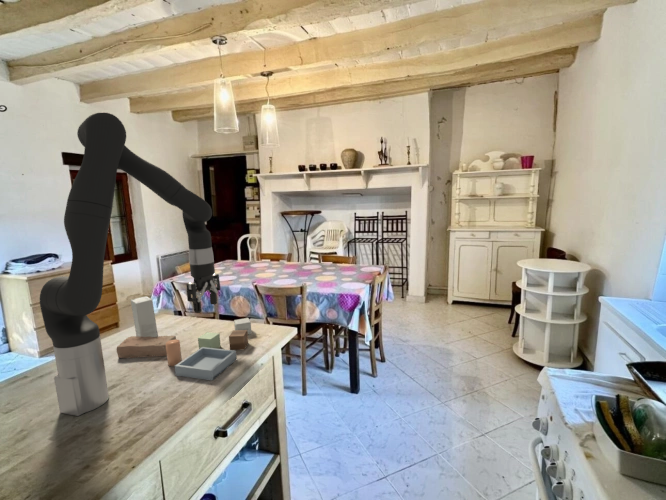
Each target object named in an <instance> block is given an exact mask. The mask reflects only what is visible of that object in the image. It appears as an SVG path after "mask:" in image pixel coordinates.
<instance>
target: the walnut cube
mask: <svg viewBox="0 0 666 500" xmlns="http://www.w3.org/2000/svg"><path fill="white" fill-rule="evenodd" d="M228 344H229V350H234V351H237V350H238V351H239V350H240V349H245V350H246V348H247V346H248V345H249V334H248V332H247V330H235V329H234V330H232V331H231V333H230V334H229V335H228ZM247 344H248V345H247ZM245 347H246V348H245Z"/></svg>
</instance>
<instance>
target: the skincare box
mask: <svg viewBox="0 0 666 500" xmlns="http://www.w3.org/2000/svg"><path fill="white" fill-rule="evenodd" d="M130 305H131V311H132V317H133V318H132V319H133V325H134V329H135V330H134V331H135V336H139V337H140V336H142V337H159V334H158V328H157V322H156V321H157V320H156V315H155V308H154V301H153V299H152V298H150V297H148V295H147V296H141V297H136V298H133V299H132V298H131V299H130Z"/></svg>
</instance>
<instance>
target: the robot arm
mask: <svg viewBox="0 0 666 500" xmlns="http://www.w3.org/2000/svg"><path fill="white" fill-rule="evenodd" d="M77 138H78V141H79V142H80V144H81V145H82V146H83V147H84V152H83V156H82V157H83V158H82V161H81V162H82V163H81V165H80V168H79V170H78V172H77V174H76V176H75V178H74V180H73V183H72V186H71V188H70V190H69V194H68V195H67V196H68V197H67V201H66V205H65V210H64V217H63V224H64V231H65V233H66V236H67V239H68V242H69V245H70V248H71V256H72V257H71V265H70V269H69V271H70V272H69V276H67V275H65V276H57V277H53V278H51V279H49V280H48V281H47V282H46V283H45V284H44V285H43V286H42V288H41V289H40V290H41V291H40V294H39V306H40V307H39V308H40V311H41V315H42V320H43V324H44V328H45V329H44V330H45V331H46V334H47V336H48V337H49V338H50V340H51V342H52V346H53V347H52V348H53V352H54V358H55V365H56V370H57V375H56V376H54V377H53V380H54V385H55V386H54V387H55V392H56V398H57V403H58V410H59V413H60V414H65V415H70V416H76V417H79V416H81V415H83V414H84V413H88V412H91V411H93V410H95V409H98V408H100V406H102V405H103V404H106V402H107V401H108V400H109V397H110V394H109V387H108V381H107V375H106V374H107V373H106V368H105V361H104V353H103V347H102V340H101V333H100V327H99V325H98V324H97V323H96V322H94V321H93V320H91V319H90V318H89V316H88V315H90V314H92V313H93V312H94V311H95V310H96V309H97V307H99V304H100V302H101V299H102V295H103V289H104V288H103V287H104V286H103V285H104V267H105V265H104V262H105V254H106V247H107V246H106V245H107V239H108V234H109V233H108V232H109V228H110V225H111V219H112V214H113V213H112V212H113V206H114V198H115V197H114V196H115V190H116V183H117V172H118V169H119V170H121V171H123V172H124V173H126V174H128V175H129V176H131V177H132V178H134V179H136V180H137V181H138V182H139V183H141V184H142V185H143V186H145V187H147V188H148V189H149V190H150V191H152V193H154V194H156V195H157V196H158V197H160V198H161V199H162V200H163V201H165V202H166V203H168V204H169V205H171V206H174V207H175V208H178V209H180V210H181V211H182V212H181V213H182V220H183V223H184V224H183V225H184V228H185V232H186V233H187V241H188V258H189V260H188V262H189V270H190V276H191V277H192V278H193V282H187V283H186V299H187V302H192V307H193V312H194V313H197V314H201V313H202V303H201V299H202V296H204V294H205V292H209V301H210V303H209V304H210V305H217V304H218V297H217V294H218V292H219V291H220V290H221V283H220V275H219V274H218V273H216V269H215V260H214V258H215V257H214V251H213V247H212V245H213V244H212V235H211V231H209V229H207V227H206V226H207V225H206V222H208V221H209V220H210V219H211V218H212V217H213V216H212V215H213V209H212V207H211V205H210V204H209V203H208V202H207V201H206V200H204V199H203V198H202V197H200V196H199V195H197V193H195V192H193V191H191V190H189V189H188V188H187V187H185V186H184V184H182V183H181V182H179V181H178V180H177V179H176V178H175V177H173V175H171V174H170V173H168V172H167V171H165V170H164V169H162V168H161V167H159V166H157V165H154V164H153V163H151V162H149V161H147V160H145V159H144V158H142V157H141V156H139V155H138V154H136V153H134V152H133V151H132V150H130V149H129V147H127V146H126V142H127V131H126V128H125V125H124V124H123V122H122V121H121V120H120V118H118V117H117V116H116V115H115V114H113V113H110V112H106V111H100V112H99V111H98V112H94V113H92V114H91V115H89V116H88V117H86V118H85V119H84V120H83V121H82V122H81V124H80V125H79V126H78V129H77Z"/></svg>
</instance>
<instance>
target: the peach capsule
mask: <svg viewBox="0 0 666 500" xmlns="http://www.w3.org/2000/svg"><path fill="white" fill-rule="evenodd" d="M166 351H167V356H166V359H167V365H168V366H169V367H175V365H177V364H178V363H180V362H181V361H183V359H182V351H181V341H180V339H178V338H176V340H170V341H168V342H166Z"/></svg>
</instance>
